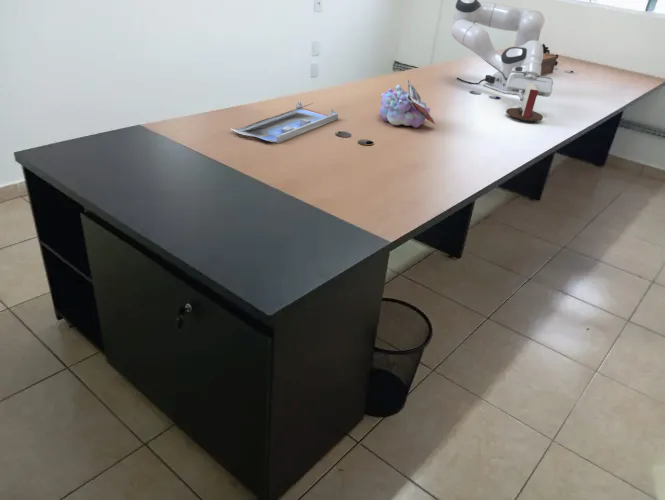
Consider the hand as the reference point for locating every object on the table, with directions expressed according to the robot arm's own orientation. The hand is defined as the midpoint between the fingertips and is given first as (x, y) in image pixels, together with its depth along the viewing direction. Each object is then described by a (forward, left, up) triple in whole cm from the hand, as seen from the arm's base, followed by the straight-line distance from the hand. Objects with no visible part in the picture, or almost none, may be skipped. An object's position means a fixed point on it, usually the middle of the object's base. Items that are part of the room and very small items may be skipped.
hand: (526, 101), depth 246 cm
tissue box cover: (-45, +98, -7) cm, 108 cm away
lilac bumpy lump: (-21, -60, -7) cm, 64 cm away
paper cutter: (-41, -106, -7) cm, 114 cm away
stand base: (+2, -3, -7) cm, 8 cm away
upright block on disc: (+2, -3, -5) cm, 6 cm away
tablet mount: (-62, +141, -7) cm, 154 cm away
